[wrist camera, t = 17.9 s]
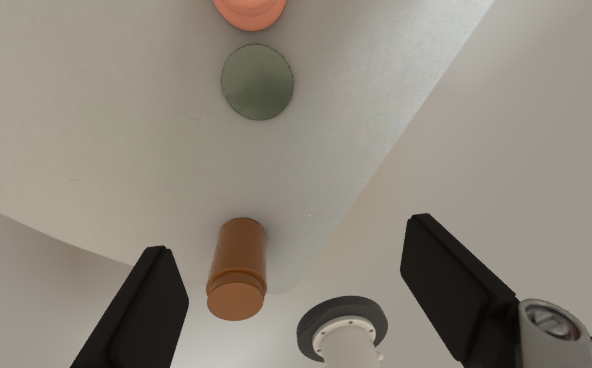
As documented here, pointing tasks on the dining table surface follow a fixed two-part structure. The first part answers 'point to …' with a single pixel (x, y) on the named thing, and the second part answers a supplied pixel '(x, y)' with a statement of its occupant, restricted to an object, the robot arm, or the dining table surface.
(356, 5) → the dining table surface
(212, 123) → the dining table surface
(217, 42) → the dining table surface
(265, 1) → the pottery
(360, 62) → the dining table surface
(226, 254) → the jar
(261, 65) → the lid
